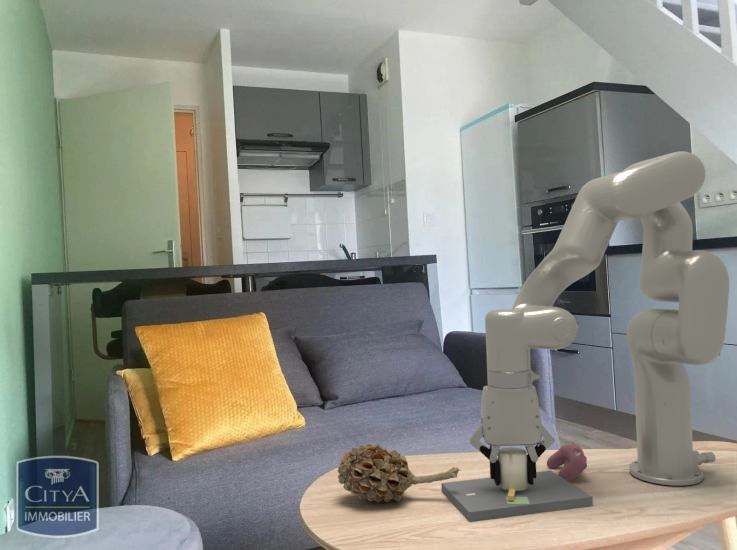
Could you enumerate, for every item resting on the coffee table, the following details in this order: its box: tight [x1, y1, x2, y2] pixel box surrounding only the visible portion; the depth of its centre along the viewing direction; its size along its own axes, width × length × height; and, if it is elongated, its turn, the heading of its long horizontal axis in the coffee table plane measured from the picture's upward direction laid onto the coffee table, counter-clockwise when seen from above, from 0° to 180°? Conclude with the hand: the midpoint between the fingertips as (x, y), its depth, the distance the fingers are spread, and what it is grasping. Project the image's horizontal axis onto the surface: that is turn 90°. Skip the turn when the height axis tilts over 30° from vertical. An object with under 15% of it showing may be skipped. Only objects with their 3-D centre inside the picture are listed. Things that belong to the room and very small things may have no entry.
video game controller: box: [546, 442, 588, 483], centre depth 114 cm, size 10×5×7 cm, turn 176°
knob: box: [497, 446, 528, 501], centre depth 102 cm, size 8×5×7 cm, turn 162°
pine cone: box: [337, 443, 462, 503], centre depth 105 cm, size 22×10×10 cm, turn 89°
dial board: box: [440, 470, 594, 522], centre depth 103 cm, size 22×14×2 cm, turn 101°
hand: (513, 481), depth 103 cm, fingers closed on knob, 5 cm apart
